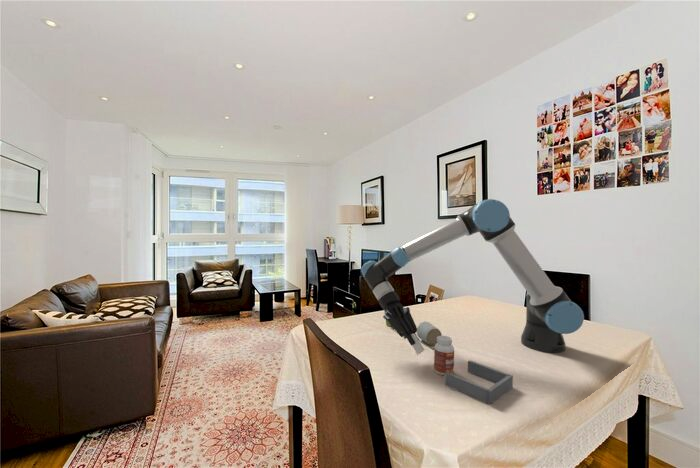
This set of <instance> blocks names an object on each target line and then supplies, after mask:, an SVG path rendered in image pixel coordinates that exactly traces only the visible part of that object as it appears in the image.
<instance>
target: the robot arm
mask: <svg viewBox="0 0 700 468" xmlns="http://www.w3.org/2000/svg"><path fill="white" fill-rule="evenodd" d="M515 228H516V223H515V222H514V220H513V219H512V217H511V215H510V210H509V208H508V206H507V205H506V204H505V203H504V202H502V201H500V200H497V199H492V198H490V199H489V198H488V199H483V200H481V201H479V202H477V203H475V204H474V205H472V206H471V207H469V208H468V209H467V210H465V211H464V212H462V213H461V214H459V215H457V216H456V218H455V219H454V220H452V221H450V222H448V223H446V224H444V225H441V226H440V227H438V228H435V229H434V230H431V231H430V232H428V233H426V234H423V235H421V236H419V237H418V238H415V239H413V240H411V241H410V242H408V243H406V244H404V245H401V246H397V247H396V248H394V249H393V250H391V251H389V253H388V254H386V255H385V256H384V257H382V258H381V259H380V260H379V261H375V260H368V262H365V263H364V264H363V265H362V266H361V268H360V272H361V274H362V276H363V279H364V280H365V281H366V283H367V285H368V286H369V288H370V290H371V291H372V293H373V294H374V296H375V298H376V300H377V301H378V303H379V305H380V307H381V308H382V310H383V311H384V310H385V312H386V313H385V312H384V314H383V316H382V317H383V319H384V320H385V321H386V320H387V321H388V322H389V323H390V324H391V326H390V327H392V328H393V329H394V331H395V332H396V333H397V334H398V335H399V337H400V338H403V339H404V340H406V339H407V341H408V343H409V344H410V345H411V346H412V348H413V349H414V351H415V353H416V354H417V355H421V353H423V352H424V351H425V348H424V346H423V344H422V343H421V341H420V340H421V339H420V338H419V337H418V335H417V328H418V326H417V324H416V322H415V321H414V318H413V316H412V314H411V310H410V307H404V306H403V304H402V303H401V302H400V297H399V295H398V294H397V292H396V291H395V289H394V288H393V286H392V284H391V282H389V280H388V278H389V277H391V276H392V275H394V274H396V272H398V271H399V270H401V269H402V268H403V267H405V266H406V265H407V264H409V263H410V262H411V261H414V260H416V259H418V258H420V257H422V256H424V255H426V254H428V253H430V252H432V251H436V249H439V248H442V247H443V246H446V245H447V244H450V243H451V242H453V241H455V240H458V239H460V238H462V237H464V236H468V237H469V236H471V235H475V234H477V233H479V234H480V235H481V236H482V238H483V239H484V241H485V242H488V243H492V245H493V246H494V247H495V249H496V250H497V251H498V253H499V254H500V256H501V257H502V259H503V260H504V261H505V263H506V264H507V266H508V267H509V269H510V270H511V271H512V273H513V274H514V276H515V277H516V278H517V279H518V281H519V282H520V284H521V285H522V286H523V288H524V289H525V292H526V295H525V297H526V306H525V307H526V308H525V309H526V313H525V314H526V315H525V317H526V319H525V320H526V321H525V325H524V329H523V331H522V332H521V335H520V342H521V344H522V345H524V346H525V347H527V348H530V349H532V350H537V351H541V352H547V353H563V352H565V351H566V342H565V338H564V335H569V334H574V332H575V333H576V332H577V331H578V330H580V329H581V327H582V326H583V323H584V321H585V314H584V311H583V310H582V308H581V307H580V306H579V305H578V304H577V303H575V302H574V301H572V300H571V299H570V297H569V296H568V295H567V293H566V292H565V290H564V289H563V288H562V287H560V286H556V285H554V283H553V282H552V281H551V279H550V277H549V276H548V275H547V273H546V272H545V271H544V270H543V268H542V267H541V266H540V264H539V262H538V261H537V260H536V258H535V257H534V256H533V254H532V253H531V251H529V249H528V248H527V246H526V245H525V243H524V242H523V240H522V239H521V238H520V237H519V235H518V233H517V232H516V231H515ZM564 350H565V351H564ZM562 351H563V352H562Z"/></svg>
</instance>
